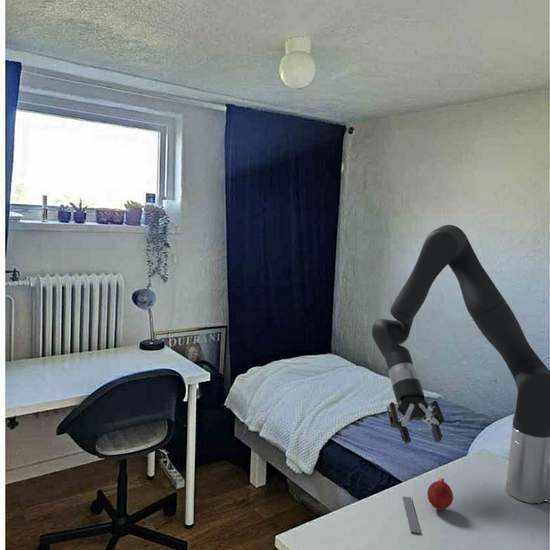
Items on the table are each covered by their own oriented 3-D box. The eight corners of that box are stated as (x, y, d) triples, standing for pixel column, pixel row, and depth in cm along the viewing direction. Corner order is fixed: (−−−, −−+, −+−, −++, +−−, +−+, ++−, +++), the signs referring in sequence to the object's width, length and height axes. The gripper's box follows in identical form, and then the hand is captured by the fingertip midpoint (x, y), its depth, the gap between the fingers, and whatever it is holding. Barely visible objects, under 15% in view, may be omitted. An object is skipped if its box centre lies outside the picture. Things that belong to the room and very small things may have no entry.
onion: (453, 519, 114) (456, 486, 113) (427, 515, 115) (430, 482, 114) (449, 505, 119) (452, 474, 118) (425, 501, 120) (427, 470, 120)
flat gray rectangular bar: (410, 498, 121) (411, 497, 121) (420, 534, 107) (420, 532, 107) (402, 497, 121) (402, 496, 121) (411, 533, 108) (411, 531, 108)
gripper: (386, 377, 130) (403, 438, 120) (435, 376, 133) (455, 435, 123) (376, 390, 135) (392, 448, 126) (423, 388, 139) (442, 445, 129)
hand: (423, 442), depth 124 cm, fingers open, 8 cm apart
